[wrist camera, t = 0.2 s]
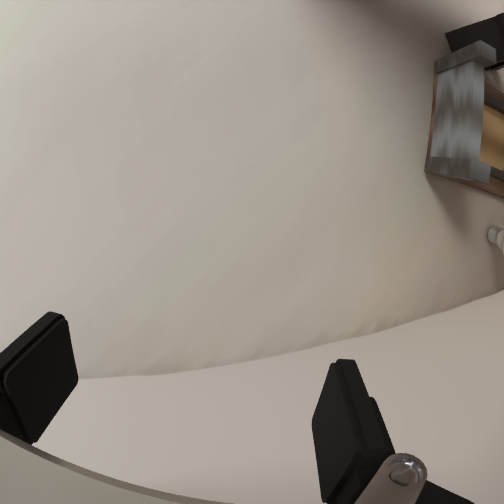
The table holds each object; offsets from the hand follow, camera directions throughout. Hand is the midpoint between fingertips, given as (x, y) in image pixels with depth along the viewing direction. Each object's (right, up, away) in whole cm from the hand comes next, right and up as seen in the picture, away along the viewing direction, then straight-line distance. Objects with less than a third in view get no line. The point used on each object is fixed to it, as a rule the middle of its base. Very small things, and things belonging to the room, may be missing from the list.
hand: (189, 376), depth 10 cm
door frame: (+35, +21, +25) cm, 48 cm away
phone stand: (+35, +34, +21) cm, 53 cm away
